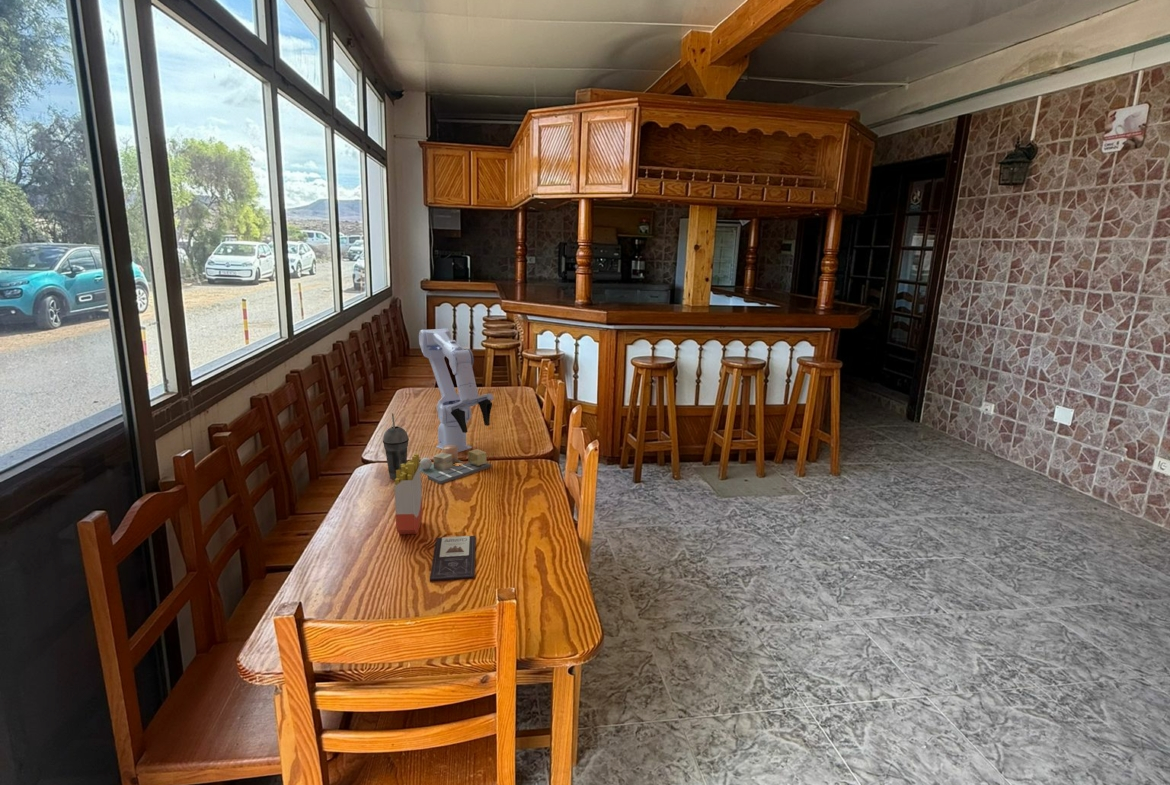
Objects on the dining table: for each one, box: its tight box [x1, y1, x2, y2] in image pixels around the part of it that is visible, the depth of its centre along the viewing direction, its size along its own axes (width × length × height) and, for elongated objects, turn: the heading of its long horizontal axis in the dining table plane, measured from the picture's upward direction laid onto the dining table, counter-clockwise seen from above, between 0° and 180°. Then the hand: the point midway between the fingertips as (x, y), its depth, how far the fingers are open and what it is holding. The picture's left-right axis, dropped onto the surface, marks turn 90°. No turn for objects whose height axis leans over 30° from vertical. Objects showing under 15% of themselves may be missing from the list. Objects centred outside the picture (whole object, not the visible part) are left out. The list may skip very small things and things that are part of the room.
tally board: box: [427, 461, 492, 485], centre depth 181 cm, size 6×19×1 cm, turn 139°
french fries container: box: [394, 453, 423, 535], centre depth 144 cm, size 5×11×18 cm, turn 5°
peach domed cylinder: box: [442, 445, 459, 464], centre depth 188 cm, size 4×4×5 cm
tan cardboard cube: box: [467, 448, 487, 466], centre depth 185 cm, size 4×4×4 cm
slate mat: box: [420, 459, 465, 476], centre depth 185 cm, size 8×14×1 cm, turn 139°
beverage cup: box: [382, 412, 410, 481], centre depth 174 cm, size 7×7×20 cm
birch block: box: [433, 452, 453, 471], centre depth 184 cm, size 4×4×4 cm
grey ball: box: [419, 457, 433, 470], centre depth 182 cm, size 4×4×4 cm
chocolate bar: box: [429, 535, 476, 583], centre depth 133 cm, size 9×1×18 cm
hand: (476, 428), depth 183 cm, fingers open, 7 cm apart
